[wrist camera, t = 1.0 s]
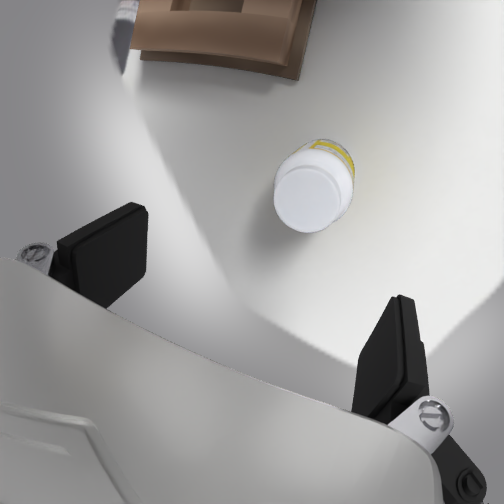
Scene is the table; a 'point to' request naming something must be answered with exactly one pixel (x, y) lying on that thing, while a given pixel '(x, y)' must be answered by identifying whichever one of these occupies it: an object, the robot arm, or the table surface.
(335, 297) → the table surface
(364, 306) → the table surface
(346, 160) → the supplement bottle
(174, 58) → the bottle holder
